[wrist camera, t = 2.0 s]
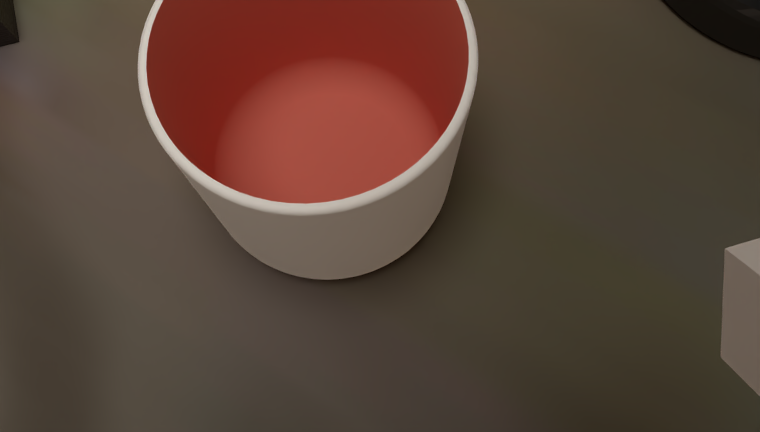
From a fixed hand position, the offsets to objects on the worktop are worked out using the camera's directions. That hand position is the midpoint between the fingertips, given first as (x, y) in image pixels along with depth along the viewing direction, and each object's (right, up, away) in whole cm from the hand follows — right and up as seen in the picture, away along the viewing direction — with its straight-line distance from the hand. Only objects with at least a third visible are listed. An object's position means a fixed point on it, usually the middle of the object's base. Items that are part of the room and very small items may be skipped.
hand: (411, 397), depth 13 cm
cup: (-3, +5, +17) cm, 18 cm away
